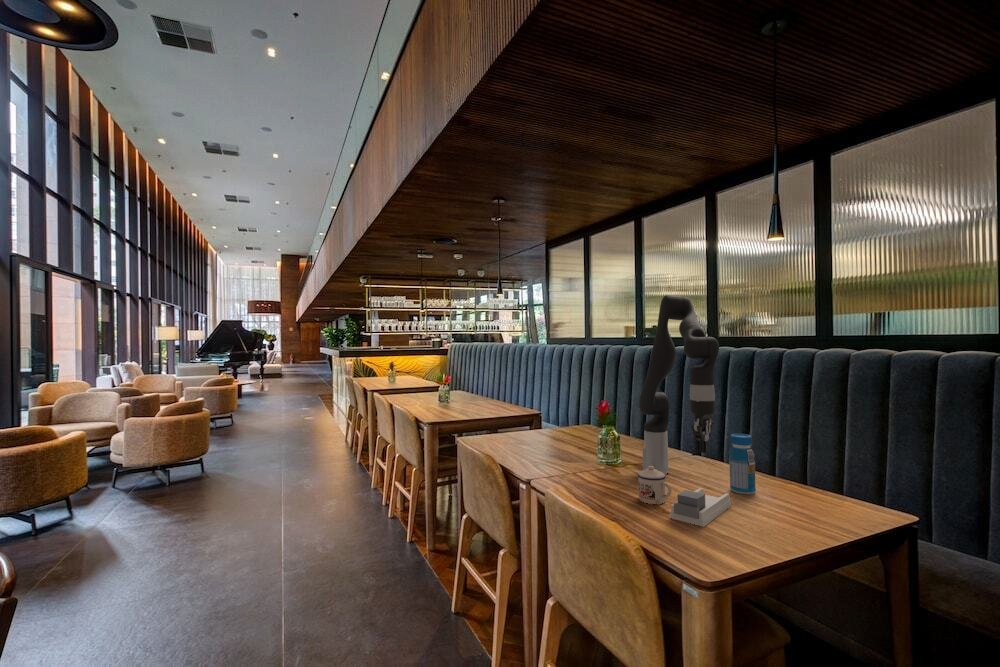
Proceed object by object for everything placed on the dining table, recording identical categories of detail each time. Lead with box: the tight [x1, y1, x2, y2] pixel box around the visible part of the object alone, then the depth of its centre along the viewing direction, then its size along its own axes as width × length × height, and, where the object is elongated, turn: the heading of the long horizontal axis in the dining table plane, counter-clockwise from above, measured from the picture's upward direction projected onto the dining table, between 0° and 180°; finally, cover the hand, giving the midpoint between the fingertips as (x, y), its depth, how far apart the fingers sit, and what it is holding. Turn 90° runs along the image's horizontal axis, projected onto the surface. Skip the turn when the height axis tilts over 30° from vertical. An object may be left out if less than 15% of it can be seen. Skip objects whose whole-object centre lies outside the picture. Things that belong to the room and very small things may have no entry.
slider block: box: [676, 489, 706, 512], centre depth 139 cm, size 6×6×5 cm
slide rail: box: [669, 487, 732, 528], centre depth 144 cm, size 10×24×5 cm, turn 135°
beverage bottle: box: [728, 433, 757, 495], centre depth 164 cm, size 8×8×20 cm
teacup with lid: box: [637, 466, 673, 505], centre depth 154 cm, size 12×9×12 cm
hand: (703, 452), depth 147 cm, fingers closed
